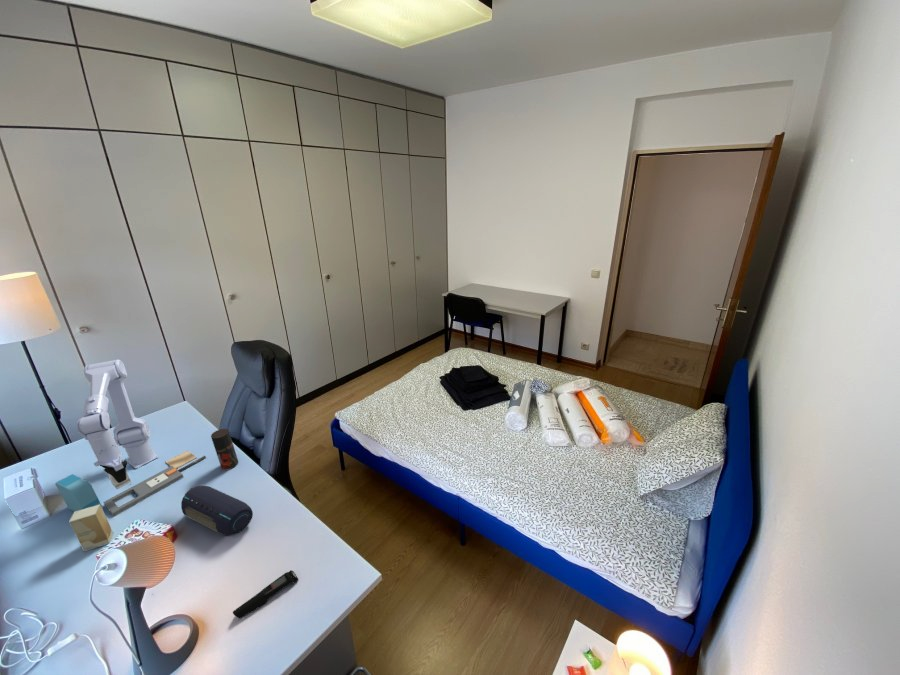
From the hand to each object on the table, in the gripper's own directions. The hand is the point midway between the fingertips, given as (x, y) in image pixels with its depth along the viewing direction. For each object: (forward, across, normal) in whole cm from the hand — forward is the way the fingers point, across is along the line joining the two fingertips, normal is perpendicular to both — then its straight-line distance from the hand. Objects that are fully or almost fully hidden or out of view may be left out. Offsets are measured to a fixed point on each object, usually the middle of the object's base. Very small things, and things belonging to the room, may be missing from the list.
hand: (119, 478), depth 125 cm
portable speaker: (+10, +38, +12) cm, 41 cm away
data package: (+10, -8, -10) cm, 16 cm away
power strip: (+9, 0, +10) cm, 13 cm away
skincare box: (+10, +13, -12) cm, 20 cm away
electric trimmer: (+10, +74, +7) cm, 75 cm away
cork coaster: (+9, -7, +19) cm, 22 cm away
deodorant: (+10, +13, +28) cm, 33 cm away
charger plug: (+2, 0, 0) cm, 2 cm away
